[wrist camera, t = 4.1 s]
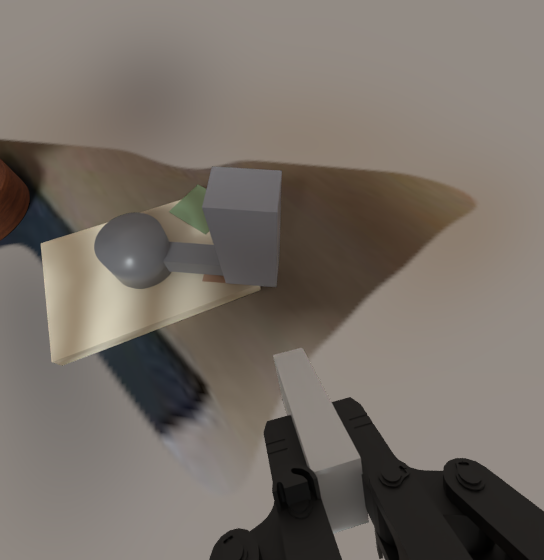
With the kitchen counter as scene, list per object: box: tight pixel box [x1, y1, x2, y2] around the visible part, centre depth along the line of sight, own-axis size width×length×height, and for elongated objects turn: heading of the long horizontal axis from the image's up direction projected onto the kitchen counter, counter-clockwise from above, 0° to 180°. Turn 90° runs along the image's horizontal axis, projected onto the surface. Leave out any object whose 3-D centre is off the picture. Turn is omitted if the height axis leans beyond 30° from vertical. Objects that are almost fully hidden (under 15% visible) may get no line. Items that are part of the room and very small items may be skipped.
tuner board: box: [41, 185, 261, 366], centre depth 26 cm, size 17×12×1 cm
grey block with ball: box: [94, 166, 282, 289], centre depth 21 cm, size 14×5×9 cm, turn 85°
